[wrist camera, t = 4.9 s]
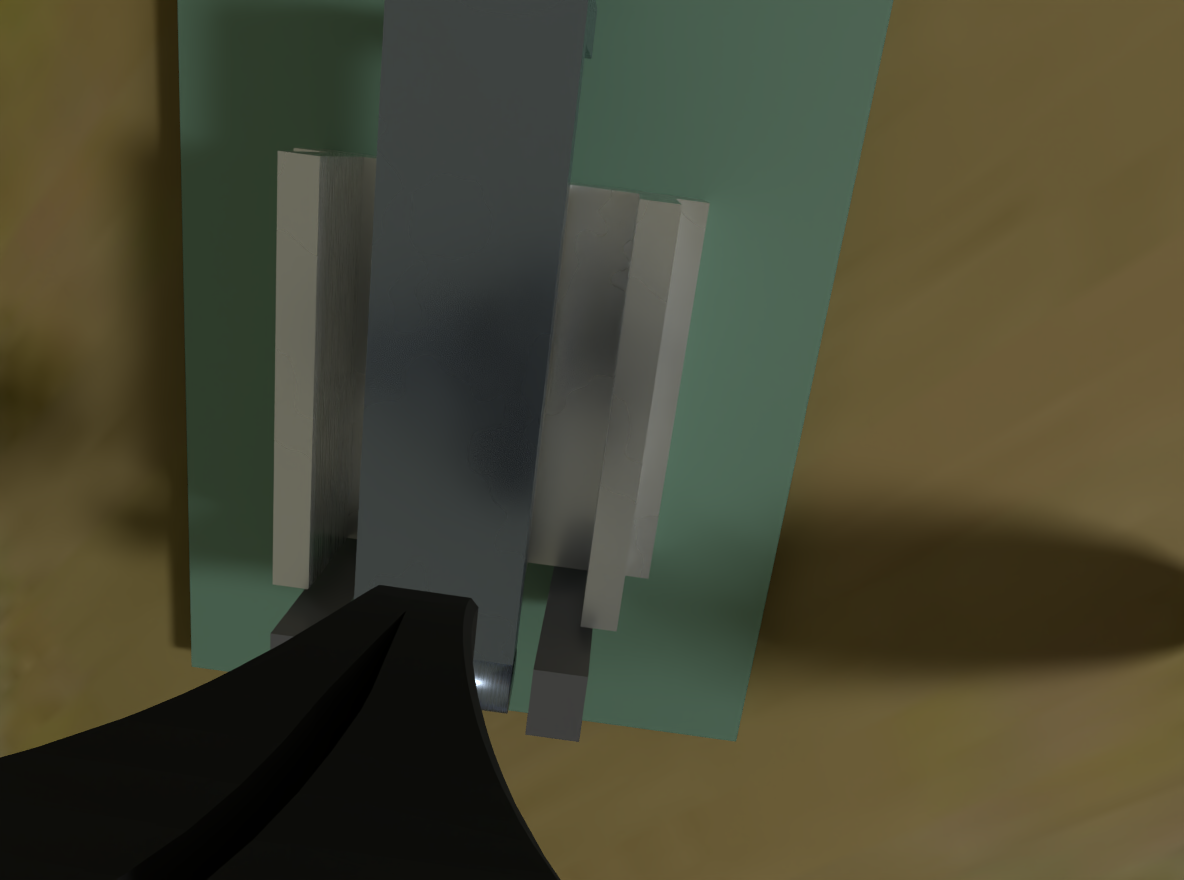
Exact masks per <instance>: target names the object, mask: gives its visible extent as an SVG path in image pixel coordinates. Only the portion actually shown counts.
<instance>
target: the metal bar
mask: <svg viewBox="0 0 1184 880" xmlns="http://www.w3.org/2000/svg"><path fill="white" fill-rule="evenodd" d="M596 18H597V4H596V0H385V1H384V21H383V41H382V60H381V80H380V99H379V119H378V139H377V158H376V178H375V198H374V217H373V237H372V257H371V276H370V296H369V315H368V335H367V355H366V374H365V394H364V414H363V433H362V453H361V472H360V492H359V512H358V531H357V551H356V571H355V590H354V599H356V598H357V597H359V596H361V595H362V594H364V593H365V592H367V591H369V590H371V589H372V588H374V587H376V586H378V585H385V586H392V587H399V588H406V589H413V590H420V591H427V592H434V593H441V594H448V595H455V596H462V597H469V598H472V599H473V601H474V602H475V603H476V605H477V606H478V607H479V608H478V618H477V628H476V638H475V647H474V657H473V667H474V674H475V681H476V688H477V693H478V697H479V702H480V706H481V710H484V711H492V712H499V713H506V714H507V713H508V709H509V705H510V700H511V695H512V689H513V683H514V676H515V669H516V660H517V642H518V634H519V625H520V616H521V608H522V599H523V590H524V581H525V573H526V564H527V555H528V547H529V538H530V529H531V520H532V512H533V503H534V494H535V486H536V477H537V468H538V460H539V451H540V442H541V433H542V425H543V416H544V407H545V399H546V390H547V381H548V372H549V364H550V355H551V346H552V338H553V329H554V320H555V312H556V303H557V294H558V285H559V277H560V268H561V259H562V251H563V242H564V233H565V224H566V216H567V207H568V198H569V190H570V181H571V172H572V164H573V155H574V146H575V137H576V129H577V120H578V111H579V103H580V94H581V85H582V76H583V68H584V59H585V58H587V59H592V52H593V43H594V35H595V26H596Z"/></svg>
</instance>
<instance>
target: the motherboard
mask: <svg viewBox="0 0 1184 880" xmlns="http://www.w3.org/2000/svg"><path fill="white" fill-rule="evenodd" d="M384 1H385V0H178V47H179V93H180V140H181V187H182V234H183V280H184V327H185V374H186V421H187V467H188V514H189V561H190V608H191V654H192V667H199V668H206V669H214V670H221V671H228V672H229V671H231V670H233V669H235V668H237V667H239V666H241V665H243V664H244V663H246V662H248V661H250V660H252V659H254V658H256V657H258V656H260V655H261V654H263V653H265V652H267V651H269V650H270V633H271V632H272V631H273V629H274V628H275V627H276V626H277V624H278V623H279V622H280V620H281V619H282V618H283V617H284V615H285V614H286V613H287V611H288V610H289V609H290V607H291V606H292V605H293V604H294V602H295V601H296V600H297V598H298V597H299V596H300V595H301V593H302V592H303V591H304V589H302V588H295V587H288V586H280V585H273V502H274V418H275V334H276V250H277V166H278V151H294V148H314V149H328V150H335V151H343V152H350V153H358V154H365V155H373V156H377V139H378V119H379V99H380V80H381V60H382V41H383V21H384ZM596 4H597V18H596V26H595V35H594V43H593V52H592V59H587V58H585V59H584V68H583V76H582V85H581V94H580V103H579V111H578V120H577V129H576V137H575V146H574V155H573V164H572V172H571V181H570V182H575V183H583V184H590V185H598V186H605V187H613V188H620V189H628V190H635V191H643V192H650V193H658V194H665V195H673V196H680V197H688V198H695V199H703V200H705V201H707V202H709V203H710V204H709V210H708V217H707V223H706V229H705V235H704V241H703V247H702V253H701V259H700V266H699V272H698V278H697V284H696V290H695V296H694V302H693V308H692V315H691V321H690V327H689V333H688V339H687V345H686V351H685V357H684V364H683V370H682V376H681V382H680V388H679V394H678V400H677V406H676V413H675V419H674V425H673V431H672V437H671V443H670V449H669V455H668V462H667V468H666V474H665V480H664V486H663V492H662V498H661V504H660V511H659V517H658V523H657V529H656V535H655V541H654V547H653V554H652V560H651V566H650V572H649V578H648V579H646V578H639V577H631V576H625V580H624V587H623V593H622V600H621V606H620V613H619V619H618V626H617V632H616V631H609V630H602V629H594V628H593V631H592V642H591V652H590V663H589V674H588V682H587V689H586V696H585V703H584V710H583V717H582V720H584V721H591V722H598V723H606V724H613V725H620V726H627V727H635V728H642V729H649V730H656V731H664V732H671V733H678V734H685V735H693V736H700V737H707V738H715V739H722V740H729V741H736V739H737V734H738V729H739V724H740V720H741V715H742V710H743V706H744V701H745V696H746V691H747V687H748V682H749V677H750V673H751V668H752V663H753V659H754V654H755V649H756V644H757V640H758V635H759V630H760V626H761V621H762V616H763V611H764V607H765V602H766V597H767V593H768V588H769V583H770V578H771V574H772V569H773V564H774V560H775V555H776V550H777V545H778V541H779V536H780V531H781V527H782V522H783V517H784V513H785V508H786V503H787V498H788V494H789V489H790V484H791V480H792V475H793V470H794V465H795V461H796V456H797V451H798V447H799V442H800V437H801V432H802V428H803V423H804V418H805V414H806V409H807V404H808V399H809V395H810V390H811V385H812V381H813V376H814V371H815V367H816V362H817V357H818V352H819V348H820V343H821V338H822V334H823V329H824V324H825V319H826V315H827V310H828V305H829V301H830V296H831V291H832V286H833V282H834V277H835V272H836V268H837V263H838V258H839V254H840V249H841V244H842V239H843V235H844V230H845V225H846V221H847V216H848V211H849V206H850V202H851V197H852V192H853V188H854V183H855V178H856V173H857V169H858V164H859V159H860V155H861V150H862V145H863V140H864V136H865V131H866V126H867V122H868V117H869V112H870V108H871V103H872V98H873V93H874V89H875V84H876V79H877V75H878V70H879V65H880V60H881V56H882V51H883V46H884V42H885V37H886V32H887V27H888V23H889V18H890V13H891V9H892V4H893V0H596ZM553 570H554V566H551V565H544V564H536V563H529V562H528V566H527V570H526V573H525V581H524V590H523V599H522V608H521V616H520V625H519V634H518V642H517V660H516V669H515V676H514V683H513V689H512V695H511V700H510V705H509V709H508V710H511V711H518V712H526V713H528V709H529V701H530V693H531V684H532V676H533V669H534V664H535V659H536V654H537V649H538V644H539V639H540V634H541V629H542V624H543V619H544V614H545V609H546V604H547V599H548V594H549V589H550V584H551V579H552V574H553Z"/></svg>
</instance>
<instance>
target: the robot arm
mask: <svg viewBox="0 0 1184 880" xmlns="http://www.w3.org/2000/svg"><path fill="white" fill-rule="evenodd" d="M478 608H479V607H478V606H477V605H476V603H475V602H474V601H473V599H472V598H469V597H462V596H455V595H448V594H441V593H434V592H427V591H420V590H413V589H406V588H399V587H392V586H385V585H378V586H376V587H374V588H372V589H371V590H369V591H367V592H365V593H364V594H362V595H361V596H359V597H357V598H356V599H354V600H352V601H351V602H349V603H348V604H346V605H345V606H343V607H341V608H340V609H338V610H337V611H335V612H333V613H332V614H330V615H329V616H327V617H325V618H324V619H322V620H320V621H319V622H317V623H315V624H314V625H312V626H310V627H309V628H307V629H305V630H304V631H302V632H300V633H299V634H297V635H295V636H294V637H292V638H290V639H289V640H287V641H285V642H284V643H282V644H280V645H278V646H276V647H275V648H273V649H271V650H269V651H267V652H265V653H263V654H261V655H260V656H258V657H256V658H254V659H252V660H250V661H248V662H246V663H244V664H243V665H241V666H239V667H237V668H235V669H233V670H231V671H229V672H228V673H226V674H224V675H222V676H220V677H218V678H216V679H214V680H212V681H210V682H208V683H206V684H203V685H201V686H199V687H197V688H195V689H193V690H190V691H188V692H186V693H184V694H182V695H179V696H177V697H174V698H172V699H170V700H167V701H165V702H162V703H160V704H158V705H155V706H153V707H150V708H148V709H146V710H143V711H141V712H138V713H136V714H133V715H130V716H128V717H125V718H123V719H120V720H117V721H114V722H111V723H108V724H105V725H102V726H99V727H96V728H93V729H90V730H87V731H84V732H81V733H78V734H75V735H72V736H69V737H66V738H63V739H60V740H57V741H54V742H51V743H48V744H45V745H42V746H39V747H36V748H33V749H29V750H26V751H22V752H19V753H15V754H12V755H8V756H4V757H1V758H0V880H560V878H559V877H558V875H557V874H556V873H555V871H554V870H553V868H552V867H551V865H550V864H549V862H548V861H547V859H546V858H545V856H544V855H543V853H542V851H541V849H540V847H539V846H538V844H537V842H536V840H535V838H534V837H533V835H532V833H531V831H530V829H529V828H528V826H527V824H526V822H525V820H524V819H523V817H522V815H521V813H520V811H519V810H518V808H517V806H516V804H515V802H514V800H513V797H512V795H511V793H510V791H509V788H508V786H507V784H506V782H505V779H504V777H503V775H502V772H501V770H500V767H499V764H498V762H497V759H496V757H495V754H494V751H493V748H492V745H491V742H490V739H489V736H488V733H487V729H486V726H485V722H484V718H483V714H482V710H481V706H480V702H479V697H478V693H477V688H476V681H475V674H474V667H473V657H474V647H475V638H476V628H477V618H478Z"/></svg>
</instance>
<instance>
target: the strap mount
mask: <svg viewBox="0 0 1184 880" xmlns="http://www.w3.org/2000/svg"><path fill="white" fill-rule="evenodd" d="M356 551H357V539H353V538H347V539H346V541H345V542H344V543H343V545H342V546H341V547H340V549H339V550H338V551H337V553H336V554H335V555H334V556H333V558H332V559H331V560H330V562H329V563H328V564H327V566H326V567H325V568H324V570H323V571H322V572H321V573H320V575H319V576H318V577H317V579H316V580H315V581H314V583H313V584H312V585H311V587H310V588H309V589H304V591H303V592H302V593H301V595H300V596H299V597H298V598H297V600H296V601H295V602H294V604H293V605H292V606H291V607H290V609H289V610H288V611H287V613H286V614H285V615H284V617H283V618H282V619H281V620H280V622H279V623H278V624H277V626H276V627H275V628H274V629H273V631H272V632H271V633H270V650H271V649H273V648H275V647H276V646H278V645H280V644H282V643H284V642H285V641H287V640H289V639H290V638H292V637H294V636H295V635H297V634H299V633H300V632H302V631H304V630H305V629H307V628H309V627H310V626H312V625H314V624H315V623H317V622H319V621H320V620H322V619H324V618H325V617H327V616H329V615H330V614H332V613H333V612H335V611H337V610H338V609H340V608H341V607H343V606H345V605H346V604H348V603H349V602H351V601H352V600H354V590H355V571H356ZM586 577H587V570H580V569H573V568H566V567H558V566H554V570H553V574H552V579H551V584H550V589H549V594H548V599H547V604H546V609H545V614H544V619H543V624H542V629H541V634H540V639H539V644H538V649H537V654H536V659H535V664H534V669H533V676H532V684H531V693H530V701H529V709H528V717H527V726H526V735H533V736H540V737H547V738H555V739H562V740H569V741H576V742H579V737H580V730H581V724H582V717H583V710H584V703H585V696H586V689H587V682H588V674H589V663H590V652H591V642H592V631H593V628H587V627H581V619H582V610H583V602H584V593H585V585H586Z"/></svg>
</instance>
